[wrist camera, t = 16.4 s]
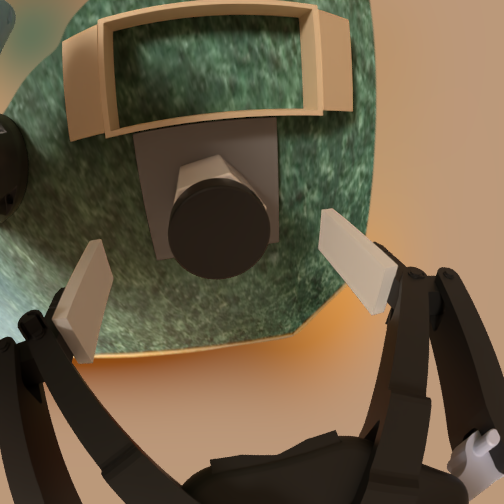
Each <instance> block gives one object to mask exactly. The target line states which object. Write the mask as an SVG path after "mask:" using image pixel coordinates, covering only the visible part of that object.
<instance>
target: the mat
mask: <svg viewBox="0 0 504 504" xmlns="http://www.w3.org/2000/svg"><path fill="white" fill-rule="evenodd" d="M133 140H134V147H135V154H136V160H137V167H138V173H139V178H140V184H141V190H142V195H143V200H144V205H145V210H146V215H147V219H148V224H149V229H150V233H151V237H152V242H153V246H154V250H155V254H156V258H157V260H163V259H170V258H174V256H173V254H172V252H171V250H170V247H169V242H168V226H169V219H170V214H171V208H172V201H173V196H174V191H175V187H176V182H177V177H178V173H179V168H180V167H181V166H183V165H186V164H189V163H192V162H195V161H199V160H202V159H205V158H208V157H211V156H215V155H221V156H222V157H223V158H224V159H225V160H226V161H227V162H228V163H229V164H230V165H231V166H232V167H233V168H234V169H236V170H237V171H238V172H239V173H240V174H241V175H242V176H243V177H244V178H245V179H246V180H247V181H248V183H249V184H250V185H251V187H252V188H253V189H254V191H255V192H256V193H257V195H258V196H259V197H260V199H261V200H262V201H263V203H264V204H265V205H266V208H267V209H266V212H267V214H268V217H269V220H270V228H271V232H270V239H269V243H268V244H270V243H276V242H279V191H278V148H277V118H276V117H267V118H248V119H234V120H223V121H213V122H204V123H196V124H188V125H181V126H174V127H168V128H162V129H156V130H151V131H145V132H140V133H135V134H133Z"/></svg>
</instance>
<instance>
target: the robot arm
mask: <svg viewBox="0 0 504 504" xmlns="http://www.w3.org/2000/svg"><path fill="white" fill-rule="evenodd" d="M15 20H16V15H15V11H14V9H13V7H12V6H11V5H10V4H9V3H7V2H6V1H5V0H0V53H1V51H2V49H3V47H4V45H5V43H6V41H7V39H8V37H9V35H10V33H11V32H12V29H13V28H14V24H15ZM27 181H28V156H27V150H26V146H25V143H24V140H23V137H22V135H21V133H20V131H19V129H18V128H17V126H16V125H15V123H14V122H13V121H12V120H11V119H9V118H8V117H6V116H5V115H2V114H0V223H2V222H3V221H5V220H6V219H7V218H8V217H9V216H11V215H12V214H13V213H14V212H15V211H16V209H17V208H18V207H19V205H20V203H21V201H22V199H23V197H24V194H25V191H26V186H27ZM318 249H319V250H320V252H321V253H322V254H323V255H324V256H325V258H326V259H327V260H328V261H329V262H330V264H331V265H332V266H333V267H334V268H335V270H336V271H337V272H338V273H339V275H340V276H341V277H342V278H343V280H344V281H345V282H346V283H347V285H348V286H349V287H350V288H351V290H352V291H353V292H354V293H355V295H356V296H357V297H358V298H359V299H360V301H361V302H362V304H363V305H364V306H365V307H366V309H367V310H368V311H369V313H370V314H371V315H375V314H379V313H382V312H384V310H385V307H386V304H387V303H388V304H389V305H390V306H391V310H390V312H389V315H388V318H387V321H386V324H388V325H387V331H386V336H385V342H384V347H383V352H382V357H381V362H380V367H379V371H378V376H377V380H376V384H375V388H374V392H373V396H372V399H371V404H370V407H369V411H368V414H367V417H366V420H365V424H364V426H363V428H362V431H361V433H360V435H359V437H354V436H338V435H337V432H336V430H334V431H331V432H328V433H326V434H322V435H319V436H316V437H313V438H309V439H307V440H305V441H303V442H301V443H299V444H298V445H296V446H294V447H292V448H290V449H288V450H286V451H284V452H282V453H281V454H278V455H238V456H232V457H225V458H219V459H211V460H210V464H211V466H210V467H207V468H204V469H203V470H200V471H199V472H197V473H196V474H194V475H192V476H191V477H190V478H189V479H188V480H187V481H186V482H185V483H184V484H183V485H180V484H179V483H178V482H177V481H175V480H174V479H173V478H172V477H171V476H170V475H169V474H167V473H166V472H165V471H164V470H163V469H162V468H161V467H160V466H158V465H157V464H156V463H155V462H154V461H153V460H152V459H151V458H150V457H149V456H148V455H147V454H146V453H145V452H144V451H143V450H142V449H141V448H140V447H139V446H138V445H137V444H136V443H135V442H134V441H133V440H132V439H131V438H130V436H129V435H128V434H127V433H126V432H125V431H124V430H123V429H122V428H121V426H120V425H119V424H118V423H117V422H116V421H115V420H114V418H113V417H112V416H111V415H110V414H109V412H108V411H107V410H106V409H105V408H104V406H103V405H102V404H101V402H100V401H99V400H98V399H97V397H96V396H95V395H94V393H93V392H92V391H91V389H90V388H89V387H88V385H87V384H86V382H85V381H84V380H83V378H82V377H81V375H80V374H79V372H78V371H77V369H76V368H75V366H74V365H73V364H72V359H73V356H74V357H75V359H76V360H77V362H78V363H79V364H80V363H93V359H94V354H95V350H96V345H97V340H98V336H99V331H100V327H101V323H102V319H103V315H104V311H105V307H106V304H107V300H108V296H109V293H110V289H111V286H112V282H113V279H114V278H113V275H112V272H111V269H110V266H109V263H108V260H107V257H106V253H105V250H104V247H103V243H102V240H101V239H97V240H92V241H89V243H88V245H87V247H86V249H85V250H84V252H83V254H82V256H81V258H80V260H79V262H78V264H77V265H76V267H75V269H74V271H73V273H72V275H71V277H70V279H69V282H68V284H67V286H66V287H64V288H61V289H60V290H59V291H58V292H57V293H56V294H55V296H54V298H53V300H52V303H51V304H50V306H49V309H48V311H47V313H46V315H45V317H43V315H42V313H41V312H40V311H39V310H31V311H29V312H27V313H25V314H24V315H23V316H22V317H21V318H20V320H19V322H18V329H19V330H20V332H21V333H22V335H23V337H24V338H25V340H26V341H23V342H20V343H18V344H16V342H15V341H14V340H13V338H11V337H5V338H3V339H1V340H0V449H1V455H2V460H3V464H4V468H5V473H6V476H7V480H8V484H9V488H10V491H11V494H12V497H13V501H14V504H82V502H81V500H80V498H79V496H78V493H77V491H76V489H75V487H74V484H73V482H72V480H71V477H70V475H69V472H68V470H67V467H66V465H65V462H64V459H63V457H62V454H61V451H60V448H59V445H58V442H57V439H56V435H55V432H54V428H53V425H52V422H51V417H50V414H49V410H48V405H47V401H46V397H45V392H44V387H43V382H45V383H46V385H47V387H48V389H49V391H50V392H51V394H52V396H53V398H54V400H55V402H56V403H57V405H58V407H59V409H60V410H61V412H62V414H63V415H64V417H65V419H66V420H67V422H68V423H69V425H70V427H71V428H72V430H73V431H74V433H75V434H76V436H77V437H78V439H79V440H80V442H81V443H82V445H83V446H84V447H85V449H86V450H87V452H88V453H89V454H90V456H91V457H92V458H93V459H94V461H95V462H96V464H97V465H98V466H99V467H100V469H101V470H102V473H101V474H102V476H103V478H104V479H105V481H106V482H107V483H108V484H109V486H110V487H111V488H112V489H113V490H114V491H115V492H116V494H117V495H118V496H119V497H120V498H121V499H122V500H123V501H124V502H125V503H126V504H469V501H470V500H472V499H473V498H475V497H476V496H477V495H479V494H480V493H481V492H482V491H484V490H485V489H486V488H488V487H489V486H490V485H491V484H492V483H494V482H495V481H496V480H498V479H500V478H502V477H503V476H504V377H503V374H502V371H501V368H500V365H499V362H498V360H497V357H496V354H495V351H494V349H493V346H492V344H491V341H490V339H489V336H488V334H487V332H486V329H485V327H484V325H483V323H482V321H481V318H480V316H479V314H478V312H477V310H476V308H475V305H474V303H473V301H472V299H471V297H470V295H469V294H468V292H467V290H466V288H465V286H464V284H463V282H462V280H461V279H460V277H459V275H458V274H457V273H456V272H455V271H454V270H453V269H450V268H445V267H444V268H443V267H442V268H439V269H438V272H437V275H436V276H427V275H426V274H425V273H424V272H423V271H422V270H420V269H418V268H416V267H406V266H405V265H404V264H403V263H401V262H400V261H399V260H398V259H397V258H396V257H395V256H393V255H392V254H391V253H390V252H388V250H387V249H386V248H385V247H384V246H382V245H380V244H378V243H376V242H372V241H371V240H369V239H368V238H367V237H366V236H365V235H364V234H363V233H361V232H360V231H359V230H358V229H357V228H356V227H354V226H353V225H352V224H351V223H350V222H348V221H347V220H346V219H345V218H344V217H342V216H341V215H340V214H339V213H338V212H336V211H335V210H334V209H322V212H321V224H320V236H319V246H318ZM429 337H430V340H431V345H432V349H433V353H434V357H435V361H436V365H437V370H438V375H439V380H440V385H441V390H442V396H443V402H444V407H445V414H446V422H447V430H448V436H449V441H450V445H451V448H452V454H451V459H450V461H449V462H448V464H447V469H448V471H449V472H450V473H451V474H449V473H446V472H443V471H440V470H437V469H435V468H432V467H429V466H427V465H424V464H422V460H423V456H424V451H425V446H426V439H427V433H428V428H429V421H430V413H431V399H430V398H428V397H426V387H427V376H428V360H429Z"/></svg>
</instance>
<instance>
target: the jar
mask: <svg viewBox="0 0 504 504" xmlns="http://www.w3.org/2000/svg"><path fill="white" fill-rule="evenodd" d="M266 209H267V208H266V205H265V204H264V203H263V201H262V200H261V199H260V197H259V196H258V195H257V193H256V192H255V191H254V189H253V188H252V187H251V185H250V184H249V183H248V181H247V180H246V179H245V178H244V177H243V176H242V175H241V174H240V173H239V172H238V171H237V170H236V169H234V168H233V167H232V166H231V165H230V164H229V163H228V162H227V161H226V160H225V159H224V158H223V157H222V156H221V155H215V156H211V157H208V158H205V159H202V160H199V161H195V162H192V163H189V164H186V165H183V166H181V167H180V168H179V173H178V177H177V182H176V187H175V191H174V196H173V201H172V208H171V214H170V219H169V226H168V242H169V247H170V250H171V252H172V254H173V256H174V258H175V259H176V261H177V262H178V263H179V264H180V265H181V266H182V267H183V268H184V269H186V270H187V271H188V272H190V273H192V274H194V275H196V276H199V277H202V278H207V279H226V278H231V277H234V276H237V275H239V274H242V273H243V272H245V271H247V270H248V269H250V268H251V267H252V266H254V265H255V264H256V263H257V262H258V261H259V259H260V258H261V257H262V255H263V254H264V252H265V250H266V248H267V246H268V243H269V239H270V232H271V228H270V220H269V217H268V214H267V212H266Z"/></svg>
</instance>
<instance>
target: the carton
mask: <svg viewBox="0 0 504 504" xmlns="http://www.w3.org/2000/svg"><path fill="white" fill-rule="evenodd" d="M216 15H270V16H285V17H296V18H299V27H300V41H301V58H302V79H303V109H258V110H240V111H227V112H216V113H207V114H198V115H190V116H183V117H176V118H169V119H163V120H157V121H152V122H147V123H141V124H136V125H132V126H127V127H122V128H120V126H119V117H118V109H117V99H116V88H115V74H114V55H113V32H114V31H117V30H121V29H125V28H130V27H134V26H139V25H144V24H149V23H154V22H160V21H167V20H173V19H181V18H190V17H201V16H216ZM62 54H63V81H64V95H65V105H66V114H67V122H68V130H69V136H70V142H72V141H75V140H79V139H82V138H86V137H90V136H94V135H98V134H102V133H105V136H106V138H110V137H114V136H118V135H123V134H127V133H132V132H137V131H142V130H147V129H152V128H158V127H164V126H170V125H176V124H183V123H190V122H198V121H207V120H216V119H226V118H239V117H254V116H279V115H320V116H323V110H332V111H353V86H352V59H351V42H350V30H349V20H347V19H345V18H342V17H339V16H336V15H333V14H330V13H327V12H324V11H321V10H318V9H317V5H312V4H305V3H297V2H288V1H276V0H200V1H189V2H180V3H172V4H165V5H159V6H153V7H148V8H143V9H138V10H133V11H129V12H125V13H121V14H117V15H113V16H109V17H106V18H102V19H99V20H98V25H95V26H93V27H91V28H88V29H86V30H84V31H82V32H80V33H78V34H76V35H74V36H72V37H70V38H69V39H67V40H65V41H63V42H62Z"/></svg>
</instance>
